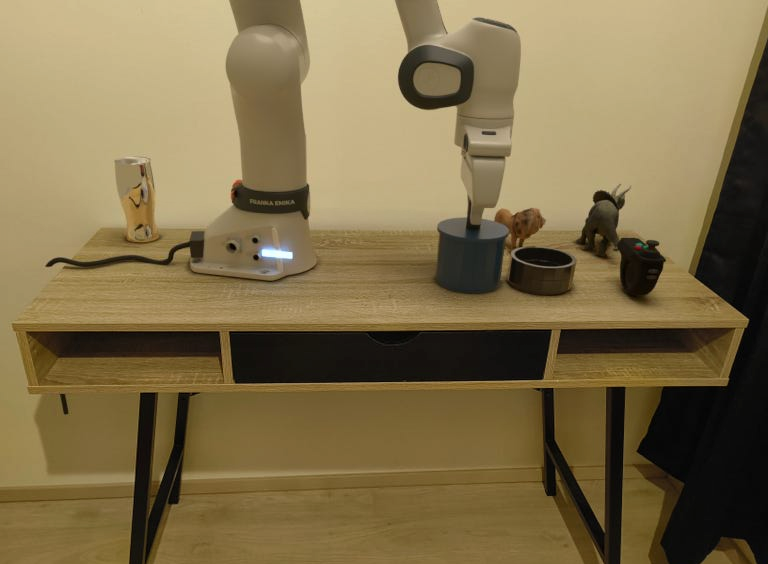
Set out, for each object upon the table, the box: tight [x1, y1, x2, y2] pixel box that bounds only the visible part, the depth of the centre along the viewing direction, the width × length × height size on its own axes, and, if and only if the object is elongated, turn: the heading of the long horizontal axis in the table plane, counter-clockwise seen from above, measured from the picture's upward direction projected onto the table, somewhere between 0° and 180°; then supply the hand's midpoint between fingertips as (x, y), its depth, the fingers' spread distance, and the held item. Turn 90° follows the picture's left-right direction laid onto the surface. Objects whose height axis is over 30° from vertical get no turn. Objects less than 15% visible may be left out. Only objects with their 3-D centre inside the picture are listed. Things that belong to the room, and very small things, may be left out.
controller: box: [617, 237, 667, 297], centre depth 114 cm, size 4×12×10 cm, turn 2°
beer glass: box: [113, 156, 160, 244], centre depth 130 cm, size 7×7×15 cm
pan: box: [506, 245, 578, 296], centre depth 117 cm, size 11×11×5 cm
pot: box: [435, 232, 507, 294], centre depth 116 cm, size 11×11×9 cm
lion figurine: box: [493, 207, 547, 253], centre depth 134 cm, size 15×5×9 cm, turn 34°
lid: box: [436, 200, 510, 243], centre depth 113 cm, size 12×12×6 cm
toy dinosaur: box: [575, 183, 632, 259], centre depth 133 cm, size 22×8×11 cm, turn 160°
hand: (473, 220), depth 113 cm, fingers closed on lid, 2 cm apart
